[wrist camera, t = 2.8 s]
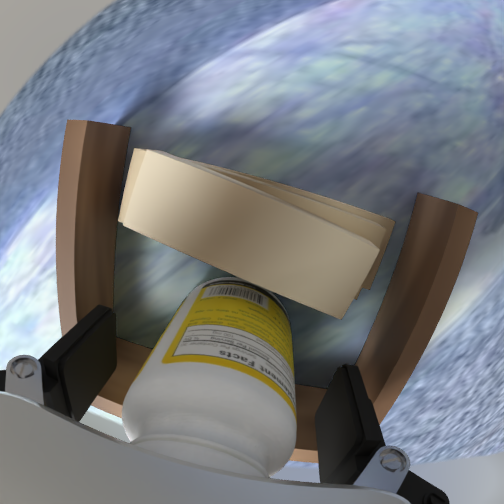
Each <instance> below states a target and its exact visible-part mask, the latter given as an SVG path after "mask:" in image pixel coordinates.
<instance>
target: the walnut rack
mask: <svg viewBox="0 0 504 504" xmlns="http://www.w3.org/2000/svg"><path fill="white" fill-rule="evenodd" d="M130 130H131V127H125V126H119V125H113V124H107V123H101V122H94V121H87V120H67V125H66V130H65V136H64V143H63V149H62V157H61V165H60V174H59V185H58V198H57V216H56V272H57V290H58V303H59V314H60V323H61V331H62V337H63V336H64V335H65V334H66V333H67V332H68V331H69V330H70V329H71V328H73V327H74V326H75V325H76V324H77V323H78V322H79V321H80V320H81V319H82V318H84V317H85V316H86V315H87V314H88V313H89V312H90V311H91V310H93V309H94V308H95V307H96V306H97V305H99V304H100V305H103V306H106V307H109V308H111V309H112V310H113V288H114V261H115V245H116V232H117V220H118V210H119V201H120V193H121V185H122V178H123V171H124V165H125V158H126V152H127V146H128V141H129V136H130ZM477 215H478V212H475V211H473V210H471V209H468V208H466V207H464V206H461V205H459V204H456V203H453V202H449V201H446V200H443V199H439V198H436V197H432V196H429V195H425V194H421V193H418V194H417V198H416V202H415V205H414V209H413V213H412V216H411V220H410V223H409V226H408V230H407V233H406V236H405V240H404V243H403V246H402V249H401V252H400V255H399V258H398V261H397V264H396V267H395V270H394V272H393V275H392V278H391V281H390V283H389V286H388V289H387V291H386V294H385V297H384V299H383V302H382V304H381V307H380V309H379V312H378V314H377V317H376V319H375V321H374V324H373V326H372V329H371V331H370V333H369V335H368V338H367V340H366V342H365V344H364V347H363V349H362V351H361V353H360V355H359V357H358V359H357V362H356V364H355V366H358V367H359V370H360V373H361V376H362V379H363V382H364V385H365V388H366V391H367V395H368V398H369V399H371V401H372V403H373V406H374V409H375V413H376V416H377V419H378V422H379V425H380V423H381V422H382V420H383V419H384V417H385V416H386V414H387V413H388V411H389V410H390V408H391V407H392V405H393V404H394V402H395V401H396V399H397V398H398V396H399V394H400V393H401V391H402V389H403V388H404V386H405V384H406V383H407V381H408V379H409V378H410V376H411V374H412V372H413V371H414V369H415V367H416V365H417V364H418V362H419V360H420V358H421V356H422V354H423V352H424V350H425V349H426V347H427V345H428V343H429V341H430V339H431V337H432V335H433V333H434V331H435V328H436V326H437V324H438V322H439V320H440V318H441V316H442V313H443V311H444V309H445V307H446V304H447V302H448V299H449V297H450V295H451V292H452V290H453V287H454V285H455V282H456V280H457V277H458V274H459V272H460V269H461V266H462V263H463V260H464V258H465V255H466V252H467V249H468V246H469V242H470V239H471V236H472V233H473V229H474V226H475V222H476V219H477ZM116 349H117V367H116V370H115V371H114V373H113V374H112V376H111V377H110V378H109V380H108V381H107V383H106V384H105V385H104V387H103V388H102V390H101V391H100V392H99V394H98V395H97V397H96V398H95V400H94V401H93V403H92V404H91V406H94V407H96V408H98V409H101V410H103V411H105V412H108V413H110V414H112V415H115V416H117V417H120V418H122V407H123V402H124V399H125V396H126V394H127V392H128V390H129V388H130V386H131V384H132V383H133V381H134V379H135V377H136V376H137V374H138V373H139V371H140V369H141V368H142V366H143V364H144V363H145V361H146V360H147V358H148V356H149V355H150V353H151V352H152V350H153V349H150V348H147V347H144V346H141V345H138V344H135V343H132V342H129V341H126V340H123V339H120V338H118V337H116ZM326 391H327V389H323V388H317V387H310V386H304V385H298V384H295V398H296V417H297V431H296V444H295V448H294V451H293V454H292V456H291V457H290V459H289V460H291V461H301V462H312V463H319V462H318V451H317V440H316V429H315V413H316V411H317V409H318V407H319V405H320V403H321V401H322V399H323V397H324V395H325V393H326Z"/></svg>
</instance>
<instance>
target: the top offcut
mask: <svg viewBox="0 0 504 504" xmlns="http://www.w3.org/2000/svg"><path fill="white" fill-rule="evenodd" d="M123 226H125V227H127V228H130V229H132V230H134V231H136V232H138V233H140V234H143V235H145V236H147V237H149V238H151V239H154V240H156V241H158V242H160V243H162V244H165V245H167V246H169V247H171V248H173V249H176V250H178V251H180V252H182V253H185V254H187V255H189V256H191V257H194V258H196V259H198V260H200V261H203V262H205V263H207V264H209V265H212V266H214V267H216V268H219V269H221V270H223V271H226V272H228V273H230V274H232V275H235V276H237V277H239V278H242V279H244V280H246V281H249V282H251V283H253V284H256V285H258V286H261V287H263V288H265V289H268V290H270V291H272V292H275V293H277V294H280V295H282V296H284V297H287V298H289V299H292V300H294V301H296V302H299V303H301V304H304V305H306V306H309V307H311V308H313V309H316V310H318V311H321V312H323V313H326V314H328V315H331V316H333V317H336V318H338V319H341V320H342V318H343V316H344V315H345V313H346V311H347V309H348V308H349V306H350V304H351V303H352V301H353V299H354V297H355V296H356V294H357V292H358V290H359V289H360V287H361V285H362V283H363V281H364V279H365V278H366V276H367V274H368V272H369V270H370V268H371V267H372V265H373V263H374V261H375V259H376V257H377V255H378V253H379V251H380V250H379V249H378V248H377V247H376V246H375V245H374V244H373V243H372V242H370V241H369V240H367V239H365V238H363V237H361V236H359V235H357V234H355V233H353V232H351V231H349V230H347V229H345V228H343V227H341V226H338V225H336V224H334V223H332V222H330V221H328V220H326V219H324V218H322V217H319V216H317V215H315V214H313V213H311V212H309V211H306V210H304V209H302V208H300V207H298V206H295V205H293V204H291V203H289V202H286V201H284V200H282V199H280V198H277V197H275V196H273V195H271V194H268V193H266V192H264V191H261V190H259V189H257V188H254V187H252V186H250V185H247V184H245V183H242V182H240V181H238V180H235V179H233V178H230V177H228V176H225V175H223V174H220V173H218V172H216V171H213V170H210V169H208V168H205V167H203V166H200V165H198V164H195V163H193V162H190V161H187V160H185V159H182V158H180V157H177V156H174V155H172V154H169V153H166V152H164V151H160V150H149V149H147V151H146V153H145V156H144V159H143V162H142V165H141V168H140V171H139V174H138V177H137V180H136V183H135V186H134V189H133V192H132V195H131V199H130V202H129V205H128V209H127V212H126V216H125V219H124V223H123Z"/></svg>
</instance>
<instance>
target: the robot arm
mask: <svg viewBox="0 0 504 504" xmlns="http://www.w3.org/2000/svg"><path fill="white" fill-rule="evenodd" d="M116 367H117V349H116V314H115V313H113V310H112V309H111V308H109V307H106V306H103V305H100V304H99V305H97V306H96V307H95V308H94V309H93V310H91V311H90V312H89V313H88V314H87V315H86V316H85V317H84V318H82V319H81V320H80V321H79V322H78V323H77V324H76V325H75V326H74V327H73V328H71V329H70V330H69V331H68V332H67V333H66V334H65V335H64V336H63V337H62V338H61V339H60V340H58V341H57V342H56V343H55V344H54V345H53V346H52V347H51V348H50V349H49V350H48V351H47V352H46V353H45V354H44V355H43V356H42V357H41V358H40V359H38V360H37V359H36V358H34V357H32V356H29V355H19V356H16V357H14V358H12V359H11V360H10V361H9V362H8V364H7V367H6V370H0V504H449V499H448V497H447V496H446V494H445V493H444V492H443V491H442V490H440V489H438V488H437V487H435V486H433V485H432V484H430V483H428V482H427V481H425V480H424V479H422V478H420V477H419V476H417V475H416V474H414V473H413V472H411V471H409V468H410V465H411V464H410V459H409V457H408V455H407V454H406V453H405V451H403V450H402V449H400V448H398V447H396V446H385V442H384V439H383V435H382V432H381V429H380V425H379V422H378V419H377V416H376V413H375V409H374V406H373V403H372V401H371V399H369V398H368V395H367V391H366V388H365V385H364V382H363V379H362V376H361V373H360V370H359V367H358V366H354V365H347V364H344V365H343V366H342V367H338V368H337V370H336V372H335V374H334V377H333V379H332V381H331V383H330V385H329V387H328V389H327V391H326V393H325V395H324V397H323V399H322V401H321V403H320V405H319V407H318V409H317V411H316V413H315V429H316V440H317V451H318V462H319V475H320V483H312V482H300V481H289V480H280V479H272V478H265V477H258V476H251V475H245V474H240V473H234V472H229V471H224V470H220V469H215V468H210V467H206V466H202V465H198V464H194V463H190V462H186V461H183V460H179V459H176V458H172V457H169V456H165V455H162V454H159V453H156V452H153V451H150V450H147V449H144V448H141V447H138V446H135V445H133V444H130V443H127V442H124V441H122V440H119V439H117V438H114V437H112V436H109V435H107V434H104V433H102V432H100V431H98V430H95V429H93V428H91V427H89V426H86V425H84V424H82V423H80V422H79V421H80V420H81V418H82V417H83V416H84V414H85V413H86V411H87V410H88V408H89V407H90V405H91V404H92V403H93V401H94V400H95V398H96V397H97V395H98V394H99V392H100V391H101V390H102V388H103V387H104V385H105V384H106V383H107V381H108V380H109V378H110V377H111V376H112V374H113V373H114V371H115V370H116Z"/></svg>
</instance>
